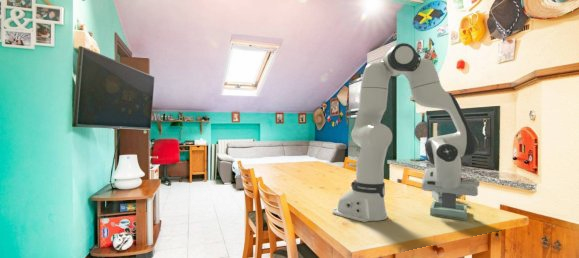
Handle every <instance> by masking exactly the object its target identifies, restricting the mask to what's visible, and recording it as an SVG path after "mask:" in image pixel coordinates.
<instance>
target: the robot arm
mask: <svg viewBox="0 0 579 258" xmlns="http://www.w3.org/2000/svg"><path fill="white" fill-rule="evenodd" d="M401 75H403V76H404V77H405V78H406V79H407V81H408V84H409V89H410V94H411V95H412V99H413V101H414V102H415V103H416V104H417V105H420V106H422V107H425V108H431V109H432V108H433V109H438V110H439V109H440V110H442V111H443V110H444V111H445V112H447V113H448V115H449V116H450V118H451V120H452V122H453V124H454V127H455V129H456V132H454V133H453V132H452V133H448V134H443V135H438V136H433V137H429V138H427V140H425V141H426V142H425V143H424V147H425V148H424V150H425V156H426V159H427V162H429V163H430V164H431V165H433V166H434V167H431V168H430V167H429V168H426V169H425V170H424V173H423V175H422V181H421V190H423V191H426V192H432V191H433V192H436V193H437V194H438V196H441V197H442V193H451V194H456V200H457V199H459V200H460V199H461V197H462V196H470V197H477V196H478V195H479V188H478V187H479V186H480V181H479V180H477V179H476V178H470V177H462V171H461V169H462V160H461V158H464V157H466V158H467V157H473V156H474V155H475V154H476V153H477V151H478V150H479V149H480V147H479V146H480V145H479V141H478V139H477V137H476V136H475V134H474V132H473V131H472V129H471V127H470V125H469V123H468V120H467V119H466V116H465V114H464V112H463V110H462V108H461V107H460V104H459V102H458V100H457V99H456V98H455V96H454V94H452V93H450V92H447V91H446V89H444V88H443V86H442V84H441V80H440V77H439V74H438V72H437V68H436V67H435V65H434V63H433V62H432V60H431V59H429V58H422V57H421V55H420V54H419V53H418V52H417V50H416V49H415V48H414V46H412V45H411V44H409V43H405V42H403V43H398V44H396V45H393V47H391V48H390V49H389V50H388V51H387V52H386V53H385V55H384V56H383V58H382V59H381V60H380V62H371V63H369V64H367V65H366V66H365V68H364V70H363V74H362V78H361V83H360V93H359V102H358V109H357V114H356V117H355V121H354V126H353V127H352V130H351V131H350V133H351V134H350V135H351V139H352V141H353V143H354V144H356V146H358V147H359V148H360V150H359V155H358V159H357V161H356V164H355V165H356V167H355V168H356V169H355V171H356V173H355V175H356V176H355V177H356V178H355V179H354V180H353V181H352V182H351V183H350V187H351V189H350V190H348V191H347V192H345V193H344V194H343V195H342V196H340V197H339V199H338V203H337V205H336V206H335V207H333V208H332V214H334V215H337V216H340V217H343V218H348V219H351V220H355V221H359V222H363V223H365V222H366V223H367V222H376V221H383V220H386V219H388V213H387V209H386V205H385V204H386V203H385V195H386V186H385V181H384V180H385V179H384V177H385V176H384V171H385V170H384V169H385V161H386V156H387V152H388V148H389V146H390V145H391V143H392V141H393V133H392V132H393V131H392V130H391V129H390V128H389V127H388V126H387V125H385V124H383V123H381V121H382V119H383V117H384V115H385V112H386V110H387V104H388V94H389V82H390V79H391V78H397V77H399V76H401Z"/></svg>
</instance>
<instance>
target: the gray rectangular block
mask: <svg viewBox="0 0 579 258" xmlns="http://www.w3.org/2000/svg"><path fill="white" fill-rule="evenodd" d="M456 200H457V198H456V194H451V193H442V207H446V208H453V209H456V204H457V201H456Z"/></svg>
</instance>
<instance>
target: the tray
mask: <svg viewBox="0 0 579 258" xmlns="http://www.w3.org/2000/svg"><path fill="white" fill-rule="evenodd" d="M467 210H468V209H467V205H466V204H459V203H456V209H453V208H446V207H442V202H438V201H437V200H432V202H431V205H430V208H429V215H430V216H433V217H441V218H447V219H453V220H459V221H460V220H461V221H465V222H466V221H467V220H468V218H467V217H468V216H467V215H468V212H467Z"/></svg>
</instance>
